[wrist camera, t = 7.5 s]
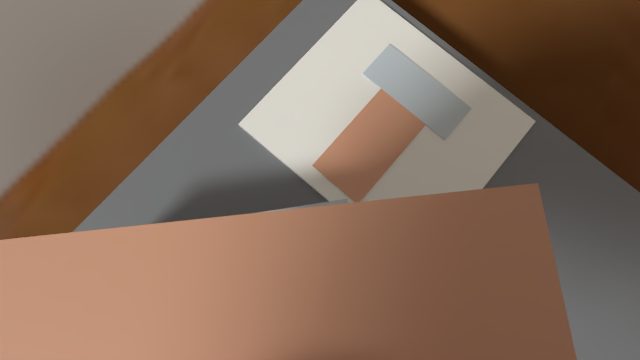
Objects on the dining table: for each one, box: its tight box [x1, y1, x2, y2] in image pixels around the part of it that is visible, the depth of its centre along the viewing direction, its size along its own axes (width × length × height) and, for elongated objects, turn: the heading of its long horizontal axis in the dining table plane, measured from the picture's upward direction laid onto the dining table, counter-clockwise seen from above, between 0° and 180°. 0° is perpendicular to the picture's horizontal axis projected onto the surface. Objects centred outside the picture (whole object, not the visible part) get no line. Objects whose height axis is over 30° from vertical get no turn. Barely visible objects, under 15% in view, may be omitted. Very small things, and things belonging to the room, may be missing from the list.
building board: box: [73, 0, 640, 360], centre depth 20 cm, size 26×24×3 cm
